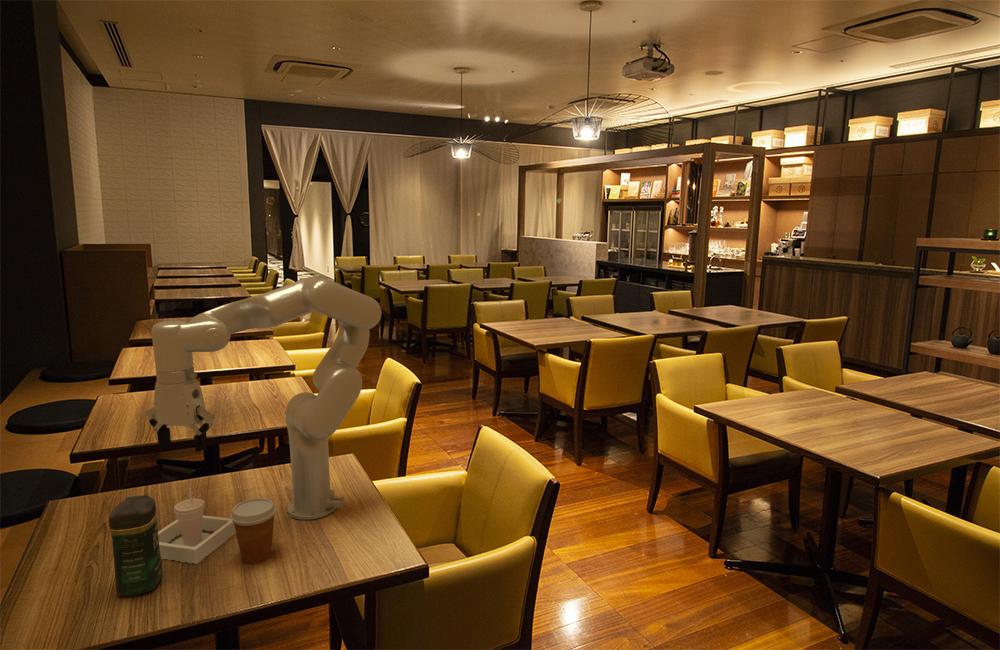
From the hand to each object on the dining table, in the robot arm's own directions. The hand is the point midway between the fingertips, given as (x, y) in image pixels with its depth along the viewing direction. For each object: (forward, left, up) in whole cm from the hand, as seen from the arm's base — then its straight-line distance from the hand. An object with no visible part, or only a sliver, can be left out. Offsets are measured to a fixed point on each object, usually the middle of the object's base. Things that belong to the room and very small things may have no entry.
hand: (183, 447), depth 137 cm
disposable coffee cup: (-18, +1, -24) cm, 30 cm away
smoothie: (0, 0, -24) cm, 24 cm away
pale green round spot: (0, 0, -24) cm, 24 cm away
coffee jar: (-1, +16, -24) cm, 29 cm away
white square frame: (0, 0, -24) cm, 24 cm away
